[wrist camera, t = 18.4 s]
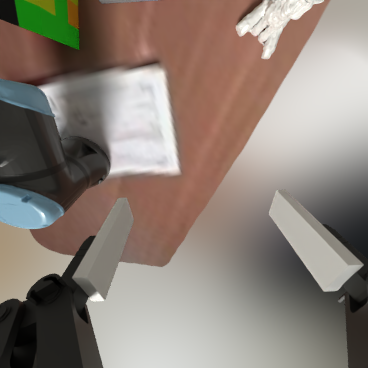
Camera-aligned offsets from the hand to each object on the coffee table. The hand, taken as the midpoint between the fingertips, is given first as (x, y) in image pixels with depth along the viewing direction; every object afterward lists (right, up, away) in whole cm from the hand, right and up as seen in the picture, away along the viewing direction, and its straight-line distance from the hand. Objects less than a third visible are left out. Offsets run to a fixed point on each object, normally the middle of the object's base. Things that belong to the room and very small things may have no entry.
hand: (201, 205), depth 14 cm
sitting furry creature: (+15, +35, +17) cm, 41 cm away
